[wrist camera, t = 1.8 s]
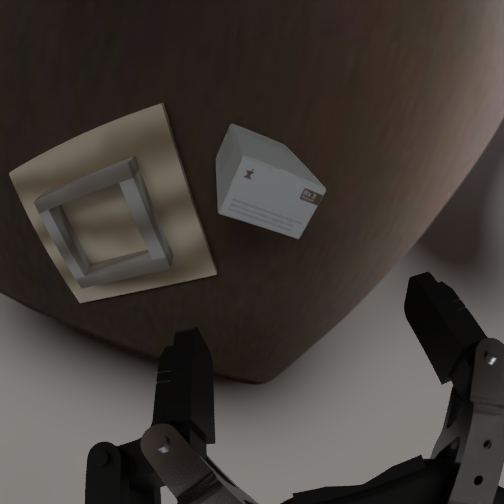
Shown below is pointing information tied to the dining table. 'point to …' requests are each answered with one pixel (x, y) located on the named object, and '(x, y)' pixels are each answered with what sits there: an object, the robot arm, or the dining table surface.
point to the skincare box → (265, 183)
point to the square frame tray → (116, 208)
